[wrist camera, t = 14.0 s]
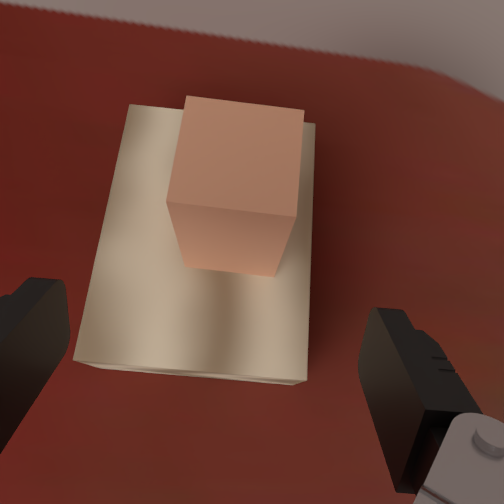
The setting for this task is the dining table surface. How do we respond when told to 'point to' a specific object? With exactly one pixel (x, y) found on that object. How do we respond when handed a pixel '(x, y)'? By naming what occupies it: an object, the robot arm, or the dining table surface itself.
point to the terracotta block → (235, 184)
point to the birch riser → (189, 279)
